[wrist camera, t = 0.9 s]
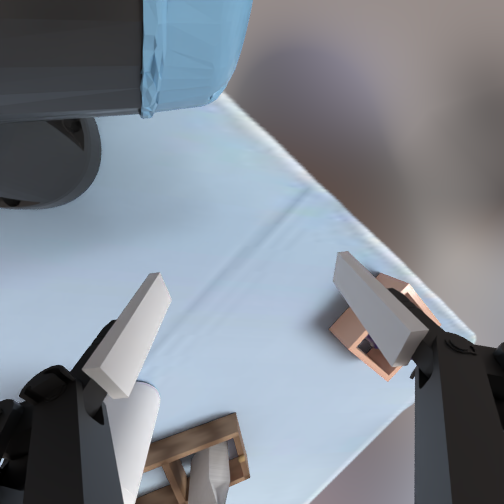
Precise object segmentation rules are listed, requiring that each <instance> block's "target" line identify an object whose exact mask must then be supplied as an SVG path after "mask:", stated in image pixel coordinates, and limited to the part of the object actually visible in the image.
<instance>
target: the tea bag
mask: <svg viewBox="0 0 504 504" xmlns="http://www.w3.org/2000/svg"><path fill="white" fill-rule="evenodd" d="M229 484H230V470H229V456H228V443H227V441H224V442H221V443H219V444H216V445H214V446H211V447H209V448H206V449H203V450H201V451H198V452H196V454H195V455H194V457H193V458H192V460H191V470H190V483H189V496H188V504H225V502H226V498H227V493H228V488H229Z"/></svg>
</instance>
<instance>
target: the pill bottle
mask: <svg viewBox="0 0 504 504" xmlns="http://www.w3.org/2000/svg"><path fill="white" fill-rule="evenodd" d="M104 403H105V405H106V408H107V414H108V419H109V425H110V430H111V436H112V441H113V447H114V452H115V457H116V463H117V468H118V474H119V479H120V485H121V490H122V496H123V501H124V504H135V502H136V498H137V494H138V490H139V486H140V482H141V478H142V474H143V470H144V466H145V462H146V458H147V454H148V450H149V447H150V443H151V439H152V435H153V431H154V427H155V423H156V419H157V415H158V411H159V407H160V395H159V392H158V391H157V389H156V388H155V387H153V386H152V385H150V384H148V383H144V382H135V384H134V386H133V389H132V391H131V393H130V395H129V397H127V398H119V399H113V398H112V397H110V396H109V395H107V396H106V397H105V399H104Z"/></svg>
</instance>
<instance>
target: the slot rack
mask: <svg viewBox="0 0 504 504" xmlns="http://www.w3.org/2000/svg"><path fill="white" fill-rule="evenodd" d="M232 438H233V439H234V442H235V446H236V450H237V453H238V457H237V458H234V459H232V460H229V470H230V484H229V487H230V486H232V485H235V484H237V483H239V482H242V481H244V480H246V479H248V478H250V474H249V467H248V460H247V455H246V451H245V447H244V443H243V439H242V435H241V431H240V427H239V423H238V420H237V416H236V413H233V414H230V415H227V416H225V417H222V418H219V419H216V420H214V421H211V422H208V423H206V424H203V425H200V426H197V427H195V428H192V429H189V430H186V431H184V432H181V433H178V434H175V435H173V436H170V437H167V438H165V439H162V440H159V441H156V442H154V443H151V444H150V447H149V450H148V454H147V458H146V462H145V466H144V470H143V473H144V472H147V471H150V470H152V469H155V468H157V467H160V466H162V468H163V470H164V472H165V474H166V476H167V479H168V481H169V483H170V485H168V486H166V487H163V488H161V489H158V490H156V491H153V492H151V493H149V494H146V495H144V496H141V497H139V498H136V502H135V504H188V496H189V483H190V477H188V478H187V476H186V473H185V471H184V468H183V466H182V463H181V461H180V458H183V457H186V456H188V455H191V454H193V453H196V452H198V451H201V450H203V449H206V448H209V447H211V446H214V445H216V444H219V443H221V442H224V441H227V440H229V439H232Z"/></svg>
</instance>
